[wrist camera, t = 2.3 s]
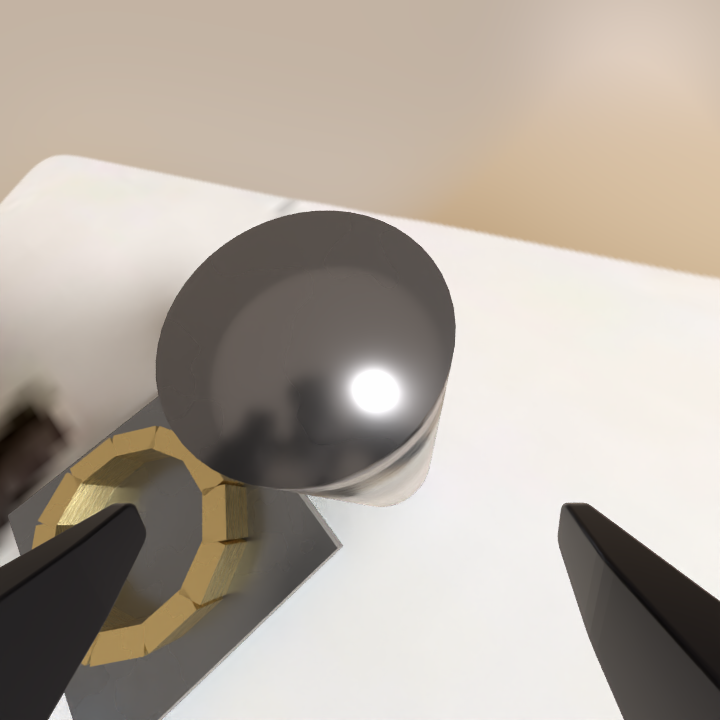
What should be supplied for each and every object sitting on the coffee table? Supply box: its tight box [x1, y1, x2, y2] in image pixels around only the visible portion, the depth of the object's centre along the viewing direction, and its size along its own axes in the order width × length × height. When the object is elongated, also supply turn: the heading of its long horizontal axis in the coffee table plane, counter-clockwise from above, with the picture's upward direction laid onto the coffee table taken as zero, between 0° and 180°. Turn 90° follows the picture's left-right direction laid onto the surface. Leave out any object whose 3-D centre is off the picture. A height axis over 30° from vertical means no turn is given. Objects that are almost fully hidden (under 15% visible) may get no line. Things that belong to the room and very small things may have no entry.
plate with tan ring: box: [8, 396, 343, 720], centre depth 16 cm, size 12×12×3 cm
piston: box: [156, 211, 456, 507], centre depth 12 cm, size 5×5×13 cm
